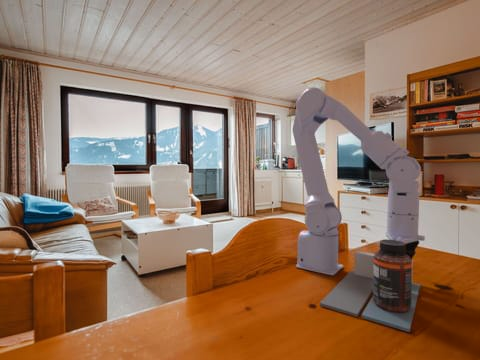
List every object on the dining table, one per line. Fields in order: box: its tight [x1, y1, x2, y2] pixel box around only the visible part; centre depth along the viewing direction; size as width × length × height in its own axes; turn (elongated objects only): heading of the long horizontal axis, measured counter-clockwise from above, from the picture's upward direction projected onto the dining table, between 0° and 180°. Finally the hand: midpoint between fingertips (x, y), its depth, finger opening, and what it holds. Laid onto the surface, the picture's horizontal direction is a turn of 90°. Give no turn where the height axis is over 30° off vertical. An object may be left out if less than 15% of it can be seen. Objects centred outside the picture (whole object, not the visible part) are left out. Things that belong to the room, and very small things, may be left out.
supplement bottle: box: [372, 239, 413, 312], centre depth 49 cm, size 6×6×11 cm
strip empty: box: [319, 250, 375, 318], centre depth 56 cm, size 6×21×6 cm, turn 143°
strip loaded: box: [361, 259, 421, 333], centre depth 52 cm, size 7×21×6 cm, turn 143°
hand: (400, 276), depth 59 cm, fingers open, 7 cm apart
